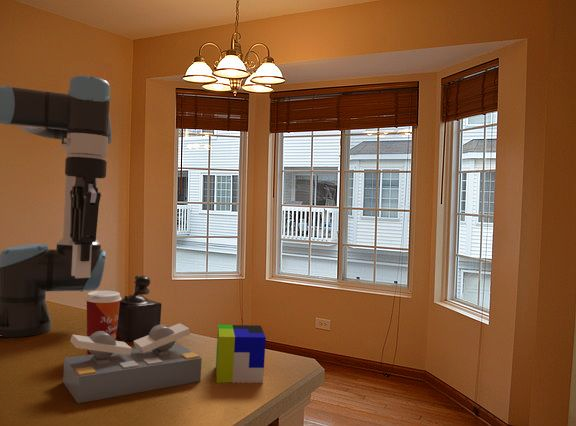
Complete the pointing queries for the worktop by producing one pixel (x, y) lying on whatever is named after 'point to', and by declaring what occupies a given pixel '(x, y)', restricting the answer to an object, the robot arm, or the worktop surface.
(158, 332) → the rocker right
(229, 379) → the puzzle toy
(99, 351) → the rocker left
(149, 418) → the worktop surface
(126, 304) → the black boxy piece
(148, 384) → the console
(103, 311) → the coffee cup
